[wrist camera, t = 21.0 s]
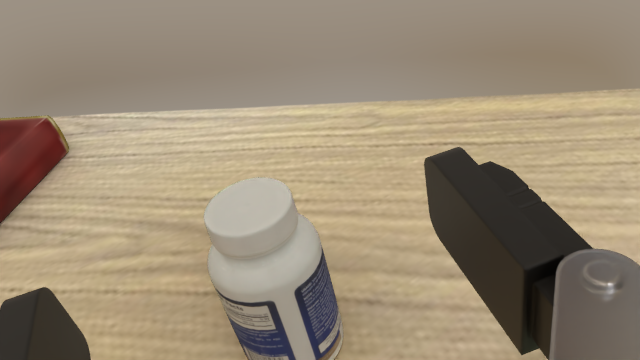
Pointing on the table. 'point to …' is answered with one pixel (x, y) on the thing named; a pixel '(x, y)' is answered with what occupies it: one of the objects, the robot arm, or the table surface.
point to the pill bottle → (271, 273)
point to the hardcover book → (26, 156)
